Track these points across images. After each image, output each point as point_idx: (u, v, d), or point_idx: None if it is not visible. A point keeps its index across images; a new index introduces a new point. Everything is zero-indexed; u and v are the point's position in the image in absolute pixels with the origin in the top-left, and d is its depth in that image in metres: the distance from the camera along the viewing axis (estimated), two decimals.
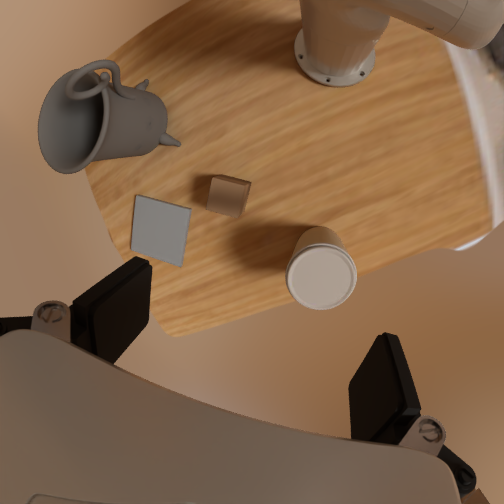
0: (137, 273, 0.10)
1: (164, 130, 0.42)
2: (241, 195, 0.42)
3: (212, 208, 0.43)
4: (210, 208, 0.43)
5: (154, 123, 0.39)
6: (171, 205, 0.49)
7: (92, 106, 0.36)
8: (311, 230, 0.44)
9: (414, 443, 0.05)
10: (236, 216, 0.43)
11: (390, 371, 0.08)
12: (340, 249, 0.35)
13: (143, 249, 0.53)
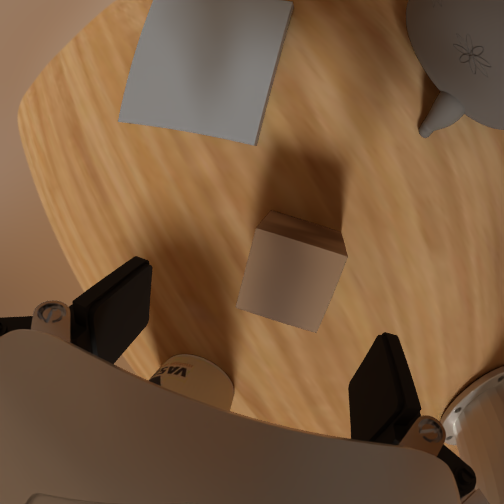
0: (137, 273, 0.10)
1: (470, 115, 0.12)
2: (293, 323, 0.17)
3: (259, 248, 0.16)
4: (258, 242, 0.15)
5: None
6: (265, 93, 0.17)
7: None
8: (225, 394, 0.24)
9: (414, 443, 0.05)
10: (240, 306, 0.17)
11: (390, 371, 0.08)
12: None
13: (153, 26, 0.16)
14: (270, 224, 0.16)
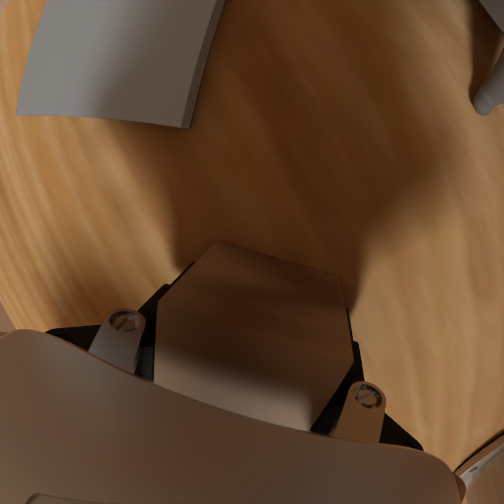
0: None
1: None
2: None
3: (170, 338, 0.07)
4: (166, 327, 0.07)
5: None
6: (200, 37, 0.08)
7: None
8: None
9: (355, 413, 0.06)
10: None
11: None
12: None
13: None
14: (198, 283, 0.08)
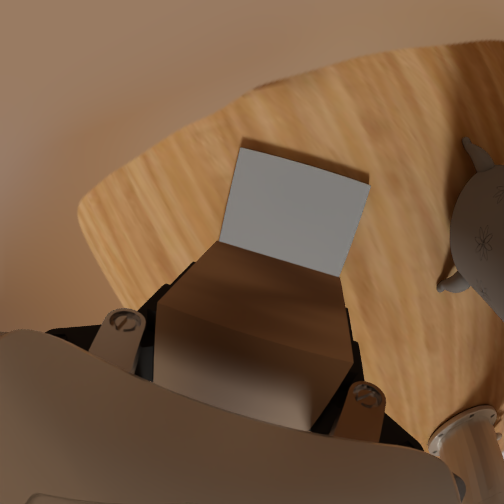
0: None
1: None
2: None
3: (170, 339, 0.07)
4: (165, 328, 0.07)
5: None
6: (340, 267, 0.25)
7: None
8: None
9: (355, 413, 0.06)
10: None
11: None
12: None
13: (244, 183, 0.24)
14: (197, 284, 0.08)
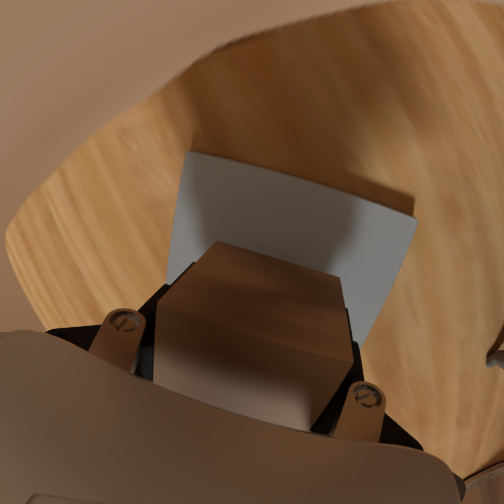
0: None
1: None
2: None
3: (170, 339, 0.07)
4: (165, 328, 0.07)
5: None
6: None
7: None
8: None
9: (355, 413, 0.06)
10: None
11: None
12: None
13: (194, 214, 0.14)
14: (197, 283, 0.08)
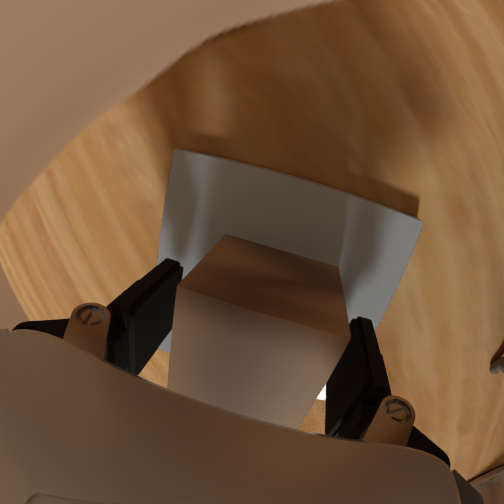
0: (171, 274, 0.10)
1: None
2: None
3: (187, 319, 0.08)
4: (183, 309, 0.08)
5: None
6: None
7: None
8: None
9: (384, 425, 0.06)
10: None
11: (360, 351, 0.09)
12: None
13: (183, 216, 0.13)
14: (211, 270, 0.09)
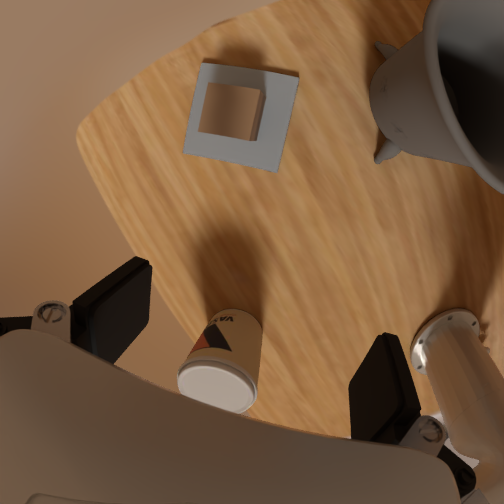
0: (137, 273, 0.10)
1: (405, 151, 0.26)
2: (233, 136, 0.25)
3: (210, 92, 0.24)
4: (209, 89, 0.24)
5: (426, 156, 0.22)
6: (283, 141, 0.30)
7: (477, 65, 0.15)
8: (259, 333, 0.37)
9: (414, 443, 0.05)
10: (200, 130, 0.26)
11: (390, 371, 0.08)
12: (251, 403, 0.30)
13: (204, 86, 0.28)
14: None
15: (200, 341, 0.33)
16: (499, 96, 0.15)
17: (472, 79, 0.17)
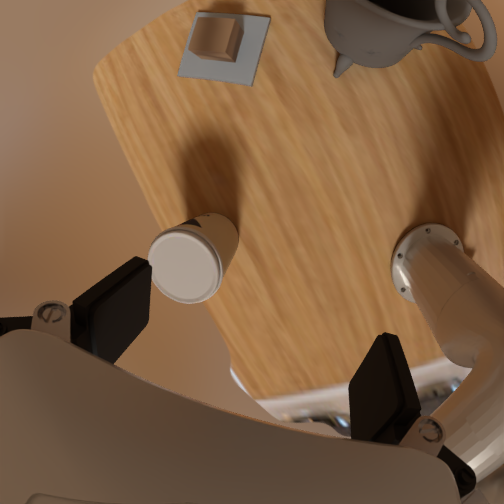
0: (137, 273, 0.10)
1: (356, 62, 0.28)
2: (213, 50, 0.29)
3: (199, 23, 0.27)
4: (198, 21, 0.27)
5: (369, 56, 0.25)
6: (256, 62, 0.33)
7: None
8: (233, 233, 0.40)
9: (414, 443, 0.05)
10: (189, 48, 0.29)
11: (390, 371, 0.08)
12: (217, 286, 0.33)
13: None
14: None
15: None
16: (422, 3, 0.17)
17: (404, 1, 0.20)
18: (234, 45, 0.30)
